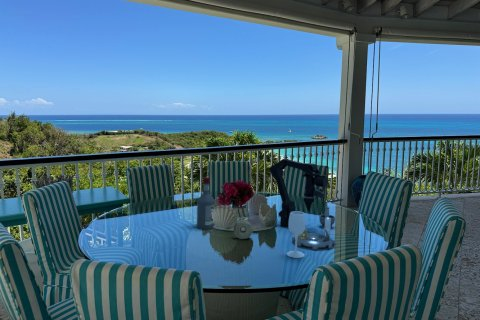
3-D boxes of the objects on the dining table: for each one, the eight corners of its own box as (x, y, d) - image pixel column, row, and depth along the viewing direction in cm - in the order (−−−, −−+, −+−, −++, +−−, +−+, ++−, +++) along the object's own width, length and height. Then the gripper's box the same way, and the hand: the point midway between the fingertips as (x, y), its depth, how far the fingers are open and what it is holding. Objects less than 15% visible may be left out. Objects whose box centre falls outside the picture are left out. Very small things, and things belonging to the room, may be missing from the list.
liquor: (194, 227, 224) (195, 178, 221) (203, 224, 232) (204, 176, 229) (207, 230, 220) (209, 179, 217) (215, 226, 228) (217, 177, 225)
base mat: (311, 253, 187) (311, 252, 187) (283, 240, 206) (283, 239, 206) (343, 246, 199) (343, 246, 199) (315, 234, 218) (315, 234, 218)
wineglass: (284, 251, 188) (286, 210, 186) (302, 251, 189) (304, 210, 187) (288, 258, 179) (290, 215, 177) (306, 258, 180) (308, 215, 178)
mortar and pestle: (335, 230, 229) (336, 210, 228) (319, 228, 231) (320, 209, 229) (333, 225, 240) (334, 206, 239) (318, 224, 242) (319, 205, 240)
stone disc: (233, 239, 206) (233, 221, 205) (233, 237, 209) (234, 219, 208) (252, 240, 205) (252, 222, 204) (252, 238, 209) (253, 220, 208)
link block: (295, 235, 206) (295, 228, 206) (300, 234, 209) (300, 227, 208) (302, 238, 203) (303, 230, 202) (307, 236, 205) (307, 229, 205)
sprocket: (292, 247, 193) (293, 221, 191) (291, 234, 215) (292, 210, 214) (337, 251, 190) (339, 224, 188) (332, 237, 212) (333, 213, 211)
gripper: (324, 188, 210) (322, 215, 212) (324, 183, 228) (322, 208, 230) (303, 187, 213) (302, 214, 214) (305, 182, 231) (304, 207, 232)
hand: (308, 211), depth 223 cm, fingers closed
